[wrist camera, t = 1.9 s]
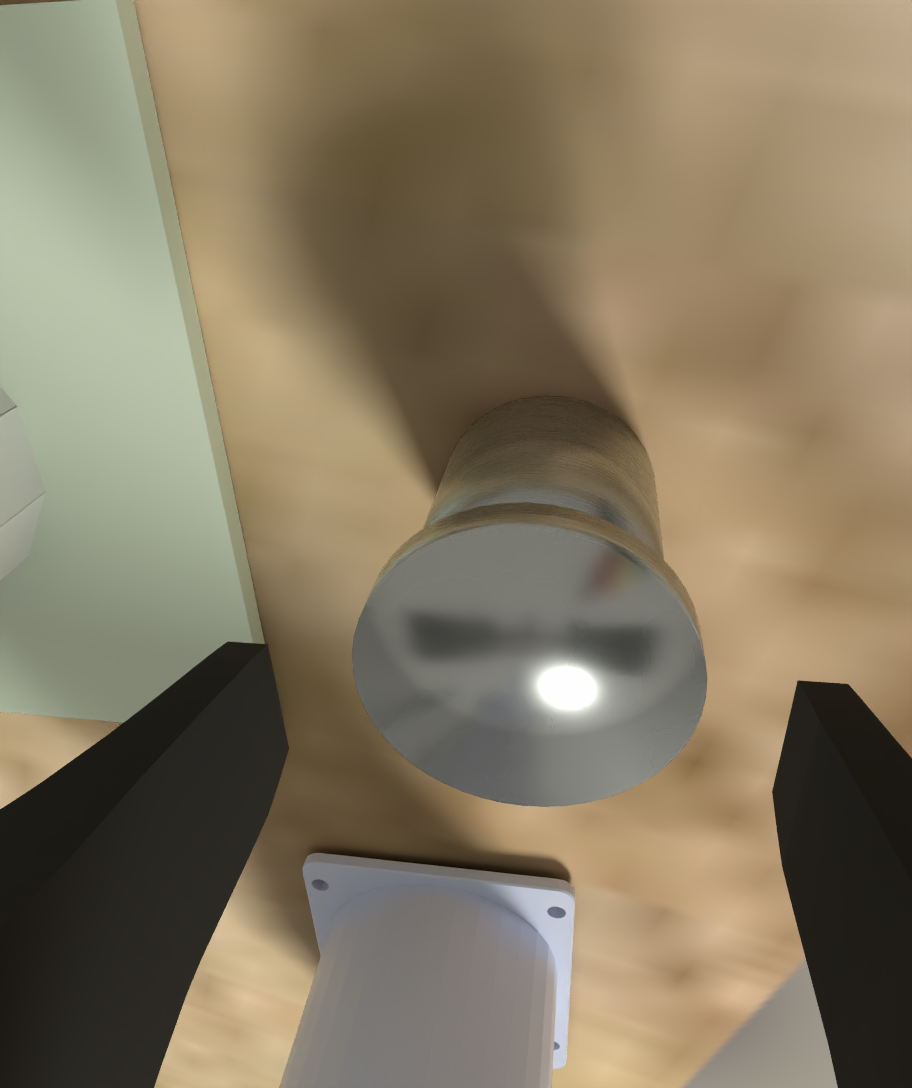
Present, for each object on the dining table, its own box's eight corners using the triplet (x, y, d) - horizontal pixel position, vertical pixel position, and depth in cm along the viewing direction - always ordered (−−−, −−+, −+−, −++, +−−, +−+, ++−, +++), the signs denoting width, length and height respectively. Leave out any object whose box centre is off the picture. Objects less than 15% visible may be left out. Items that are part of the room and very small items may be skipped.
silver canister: (664, 604, 18) (686, 821, 13) (433, 591, 19) (369, 790, 14) (688, 377, 15) (730, 540, 10) (418, 374, 16) (332, 522, 11)
